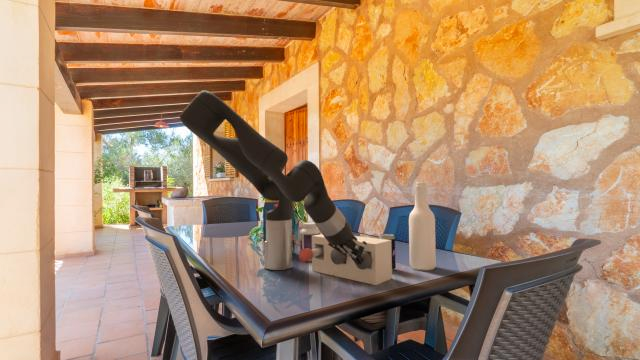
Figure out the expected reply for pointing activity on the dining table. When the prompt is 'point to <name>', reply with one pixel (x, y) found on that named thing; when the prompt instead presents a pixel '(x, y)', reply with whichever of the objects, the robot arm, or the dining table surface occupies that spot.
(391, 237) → the beverage can
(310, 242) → the pill bottle
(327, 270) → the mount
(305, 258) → the red knob
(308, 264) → the dining table surface
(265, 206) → the dark thin upright pieces
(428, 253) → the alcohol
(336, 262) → the knob
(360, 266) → the knob
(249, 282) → the dining table surface
